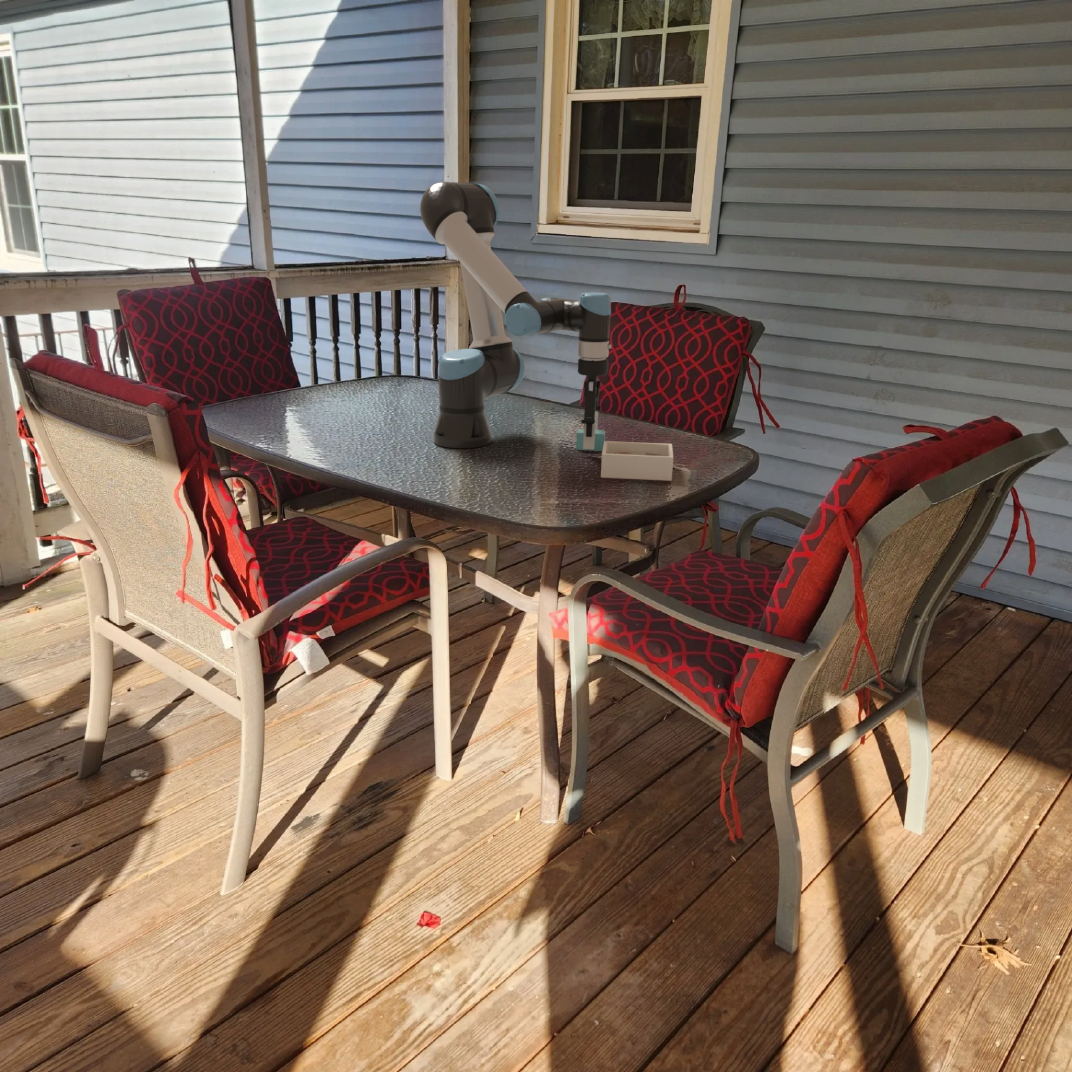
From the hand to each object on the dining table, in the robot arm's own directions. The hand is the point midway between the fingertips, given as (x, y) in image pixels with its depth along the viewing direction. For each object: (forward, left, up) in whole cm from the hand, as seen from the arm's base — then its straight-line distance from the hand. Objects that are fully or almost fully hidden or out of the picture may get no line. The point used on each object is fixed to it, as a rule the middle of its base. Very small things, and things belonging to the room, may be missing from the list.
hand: (590, 442), depth 218 cm
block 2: (+15, -19, -2) cm, 25 cm away
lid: (+9, 0, -2) cm, 9 cm away
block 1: (+9, -19, -2) cm, 21 cm away
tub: (+12, -19, -2) cm, 23 cm away
